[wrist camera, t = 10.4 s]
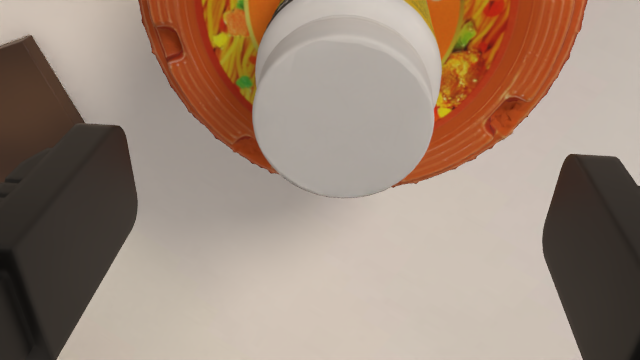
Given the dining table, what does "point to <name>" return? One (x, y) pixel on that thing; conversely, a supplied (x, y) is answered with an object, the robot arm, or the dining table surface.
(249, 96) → the food container
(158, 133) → the dining table surface
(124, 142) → the robot arm
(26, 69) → the plate
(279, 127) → the supplement bottle
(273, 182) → the dining table surface
